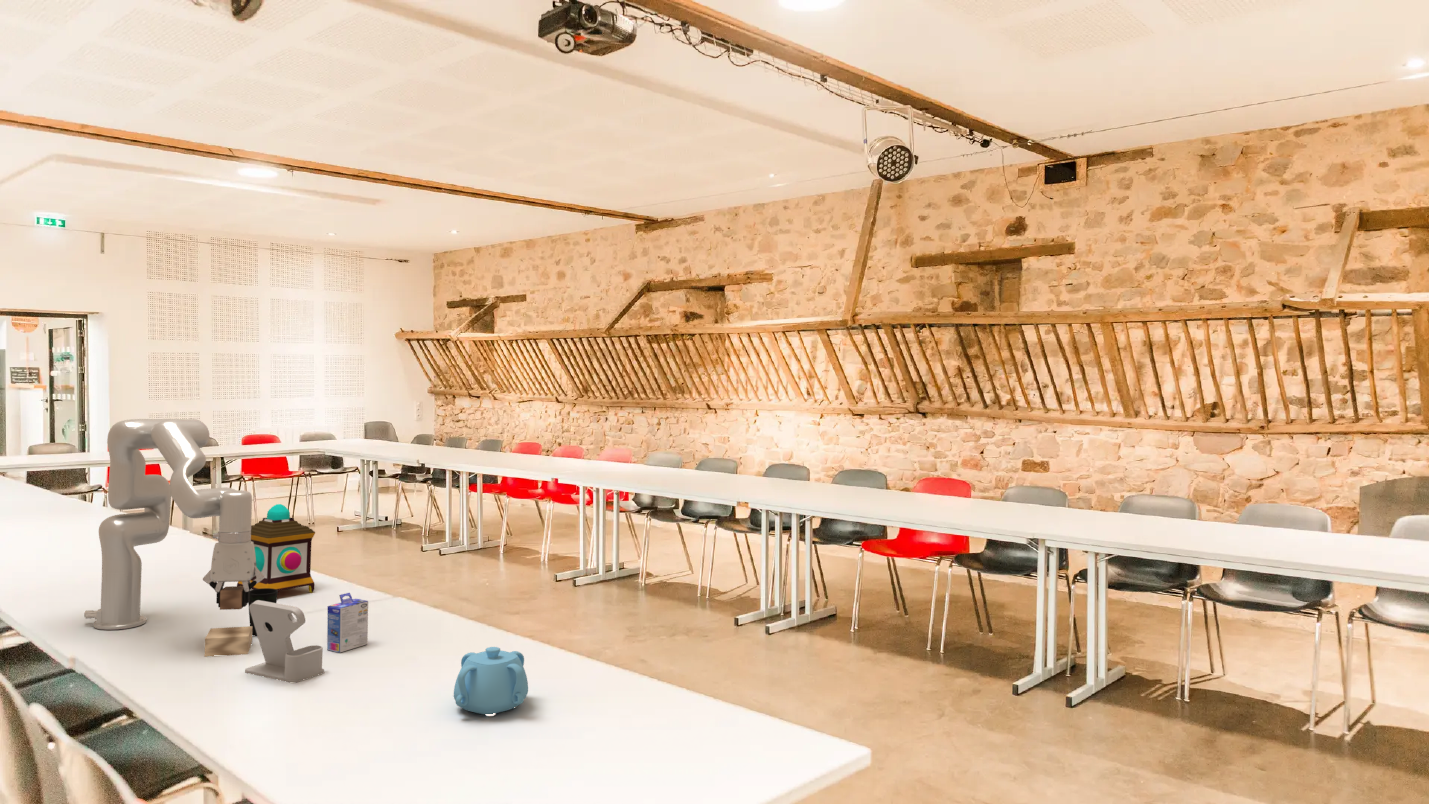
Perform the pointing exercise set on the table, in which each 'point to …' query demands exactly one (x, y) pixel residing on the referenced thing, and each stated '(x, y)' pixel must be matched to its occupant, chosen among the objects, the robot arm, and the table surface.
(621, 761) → the table surface
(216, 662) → the table surface
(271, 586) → the decorative lantern
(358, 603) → the ink cartridge box
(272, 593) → the cup
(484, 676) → the decorative pot
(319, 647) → the phone holder
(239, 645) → the oak block
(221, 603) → the walnut cube
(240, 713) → the table surface
